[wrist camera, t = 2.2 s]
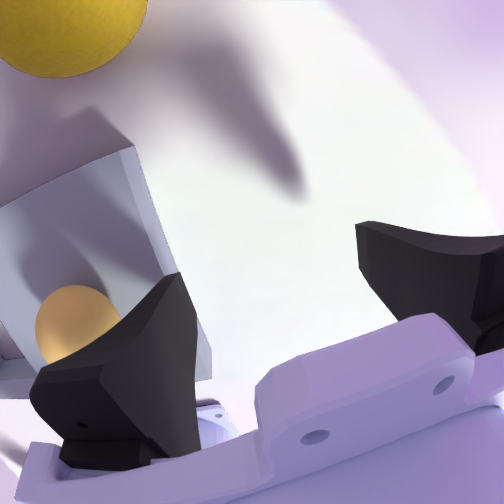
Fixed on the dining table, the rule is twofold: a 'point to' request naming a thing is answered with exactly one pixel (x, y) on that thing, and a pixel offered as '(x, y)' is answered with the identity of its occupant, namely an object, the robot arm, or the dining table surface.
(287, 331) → the dining table surface
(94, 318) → the ball
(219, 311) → the dining table surface
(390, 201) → the dining table surface
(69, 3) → the lemon
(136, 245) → the grey piece
